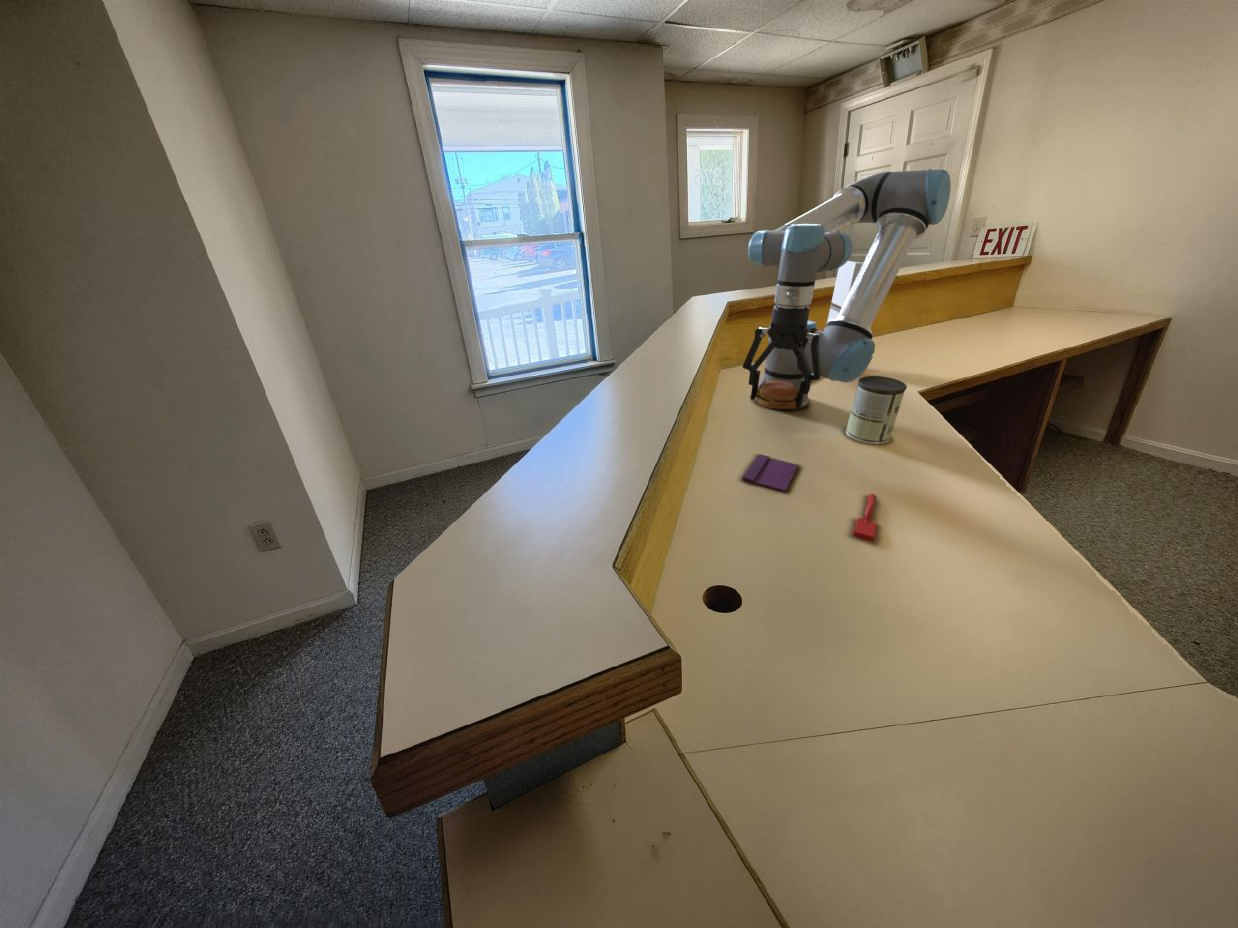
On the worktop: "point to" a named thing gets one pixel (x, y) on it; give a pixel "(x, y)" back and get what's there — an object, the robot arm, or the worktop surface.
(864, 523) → the red spatula
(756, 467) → the cloth
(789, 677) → the worktop surface
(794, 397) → the burger
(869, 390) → the coffee can
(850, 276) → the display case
